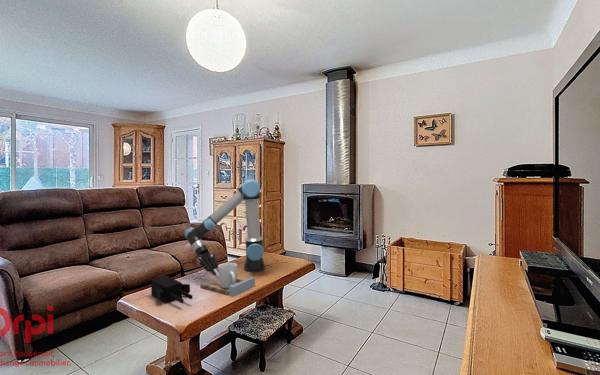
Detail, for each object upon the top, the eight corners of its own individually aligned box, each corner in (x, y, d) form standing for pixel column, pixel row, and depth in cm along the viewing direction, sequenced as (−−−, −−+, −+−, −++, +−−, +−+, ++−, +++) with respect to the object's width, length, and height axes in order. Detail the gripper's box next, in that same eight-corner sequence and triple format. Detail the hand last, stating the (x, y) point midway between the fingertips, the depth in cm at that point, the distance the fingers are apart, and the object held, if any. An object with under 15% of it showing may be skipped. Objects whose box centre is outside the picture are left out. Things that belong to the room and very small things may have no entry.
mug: (243, 289, 173) (242, 267, 173) (225, 293, 167) (224, 270, 166) (233, 282, 185) (232, 261, 185) (216, 286, 179) (215, 264, 178)
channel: (200, 288, 176) (200, 284, 176) (224, 278, 192) (223, 275, 192) (228, 295, 164) (227, 291, 164) (250, 284, 180) (250, 281, 180)
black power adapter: (202, 303, 156) (173, 289, 175) (202, 286, 156) (173, 273, 175) (172, 314, 143) (144, 297, 162) (172, 296, 143) (144, 281, 162)
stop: (229, 295, 164) (228, 286, 164) (251, 285, 180) (251, 277, 179) (233, 296, 162) (232, 287, 162) (254, 286, 178) (254, 277, 178)
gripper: (205, 250, 195) (224, 279, 187) (189, 254, 184) (207, 285, 176) (210, 243, 192) (230, 272, 184) (194, 247, 181) (213, 278, 173)
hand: (219, 278), depth 180 cm, fingers closed
